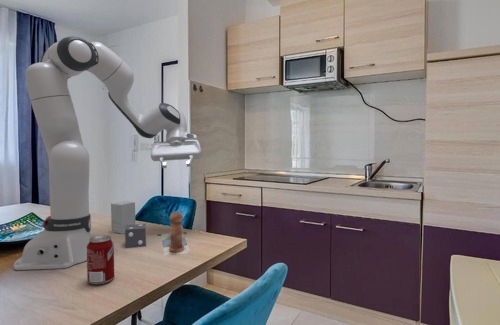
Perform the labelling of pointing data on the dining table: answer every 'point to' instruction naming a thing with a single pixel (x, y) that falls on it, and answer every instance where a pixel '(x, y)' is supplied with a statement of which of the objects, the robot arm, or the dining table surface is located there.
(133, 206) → the supplement box
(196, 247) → the dining table surface
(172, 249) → the pawn
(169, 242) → the game board
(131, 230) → the die
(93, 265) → the soda can
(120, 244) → the dining table surface
